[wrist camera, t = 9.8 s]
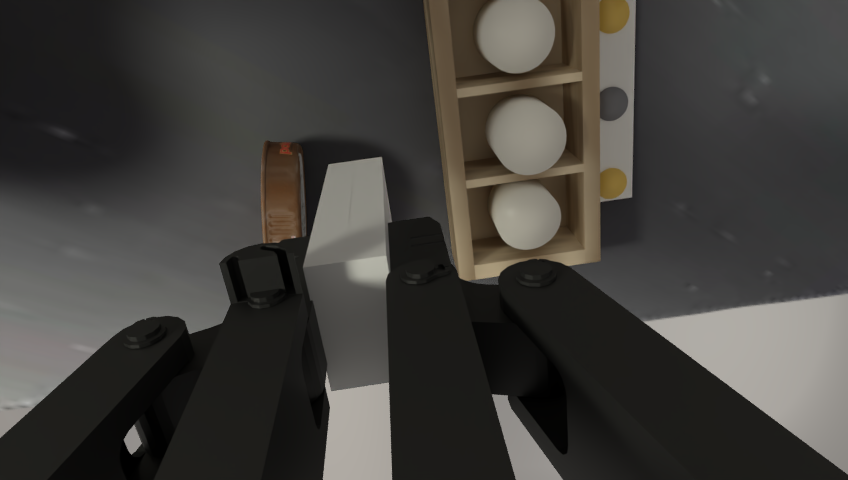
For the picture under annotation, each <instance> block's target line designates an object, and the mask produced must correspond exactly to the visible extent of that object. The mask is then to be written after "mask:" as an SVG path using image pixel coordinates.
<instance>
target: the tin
mask: <svg viewBox="0 0 848 480" xmlns="http://www.w3.org/2000/svg"><path fill="white" fill-rule="evenodd" d="M261 213H262V232H263V243H275V242H276V243H279V242H280V241H281V240H284V239H291V238H297V237H304V236H307V216H306V191H305V171H304V157H303V150H302V147H301V145H300V144H298V143H292V142H270V141H268V140H267V141H265V142H264V146H263V153H262V163H261Z"/></svg>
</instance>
